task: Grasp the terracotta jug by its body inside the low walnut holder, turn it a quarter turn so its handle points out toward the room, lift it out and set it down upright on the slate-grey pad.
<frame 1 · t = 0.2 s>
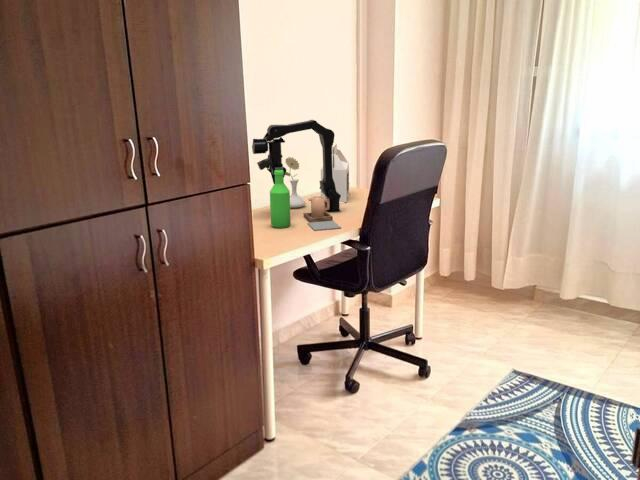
hand: (276, 185, 266), 14 cm above the table, fingers open, 9 cm apart
bottle: (280, 226, 252), on the table
jug: (319, 208, 262), in the holder
flower in vase: (293, 206, 288), on the table
holder: (317, 218, 263), on the table
pad: (324, 226, 250), on the table
gable box: (335, 198, 305), on the table
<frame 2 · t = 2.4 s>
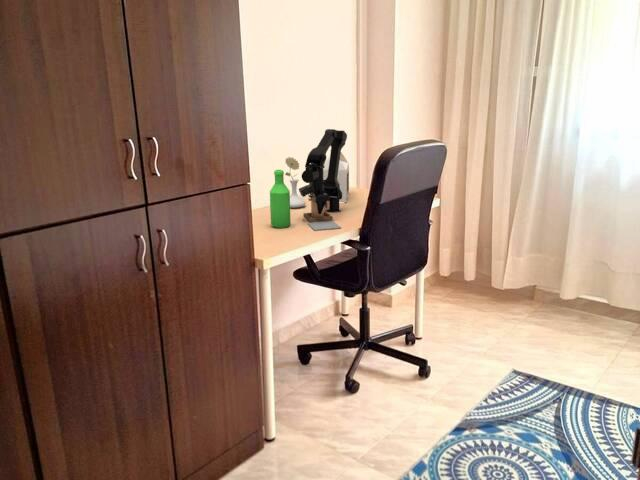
hand: (317, 212, 262), 3 cm above the table, fingers closed on jug, 6 cm apart
jug: (319, 208, 262), in the holder, touching gripper
everything else where it was.
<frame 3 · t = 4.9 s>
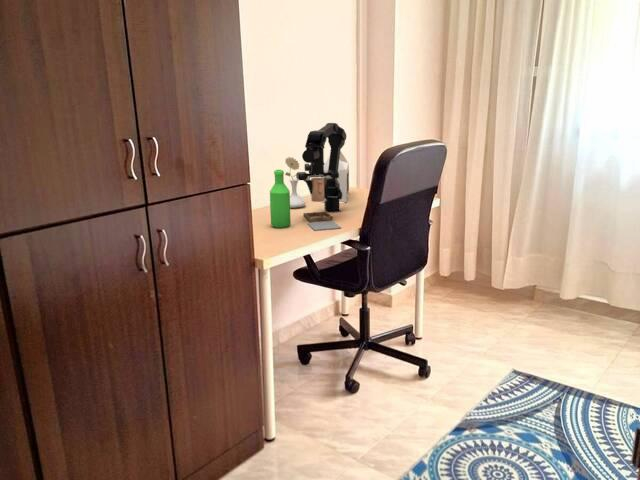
hand: (317, 193, 258), 12 cm above the table, fingers closed on jug, 6 cm apart
jug: (318, 189, 257), point 14 cm above the table, touching gripper
everything else where it was.
when the fingers open (5 cm above the table, at t = 7.4 s): jug stays where it is, resting on pad.
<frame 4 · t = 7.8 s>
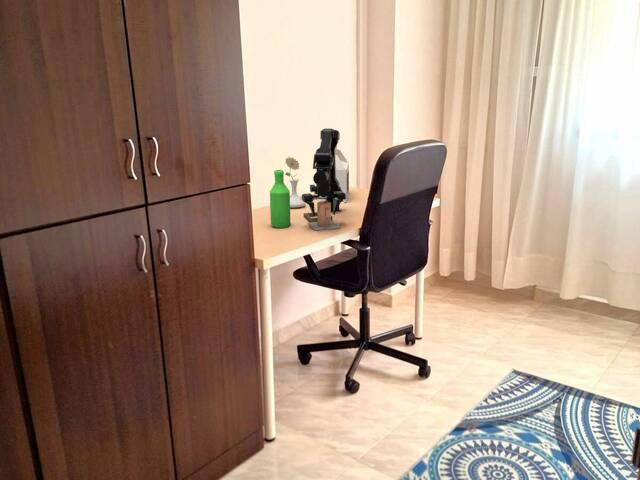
hand: (323, 215, 249), 5 cm above the table, fingers open, 9 cm apart
jug: (324, 214, 248), on the pad, point 6 cm above the table
everything else where it was.
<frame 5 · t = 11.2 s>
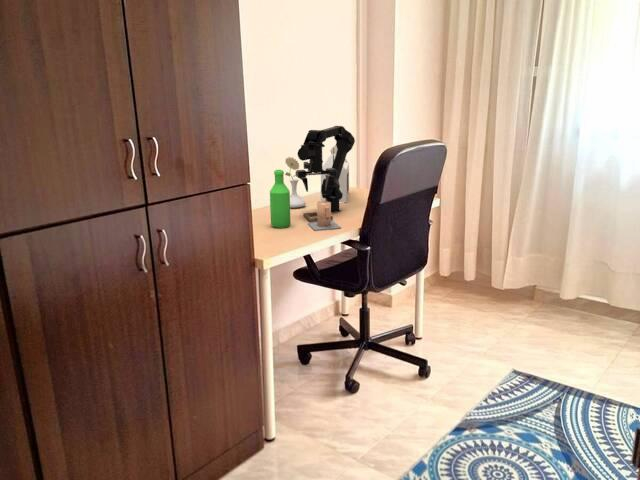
hand: (316, 191, 265), 12 cm above the table, fingers open, 9 cm apart
nothing on the table moved.
at the end: jug inside the target area on the pad (0.1 cm from its centre), point 5.7 cm above the pad's base; jug tilted 2°; the gripper is holding nothing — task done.
